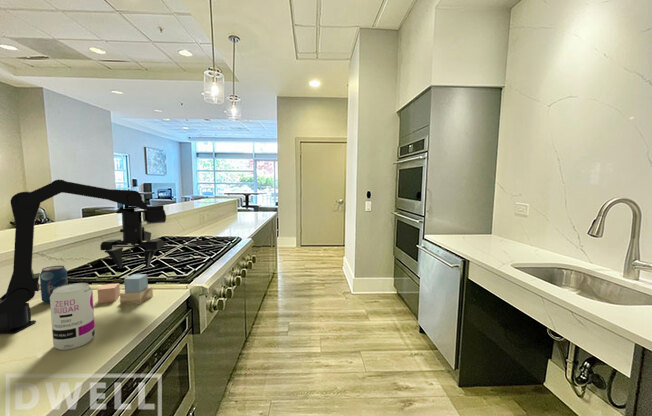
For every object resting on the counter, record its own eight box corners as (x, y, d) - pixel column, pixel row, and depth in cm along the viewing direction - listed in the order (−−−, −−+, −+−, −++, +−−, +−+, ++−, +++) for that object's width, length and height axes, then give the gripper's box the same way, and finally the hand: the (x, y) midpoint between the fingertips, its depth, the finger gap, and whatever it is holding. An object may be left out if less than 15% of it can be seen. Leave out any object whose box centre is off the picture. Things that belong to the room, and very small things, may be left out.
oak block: (140, 304, 98) (139, 293, 97) (120, 304, 98) (120, 293, 97) (152, 296, 105) (152, 286, 104) (134, 296, 105) (134, 286, 104)
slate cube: (139, 292, 98) (138, 278, 98) (124, 292, 98) (124, 278, 98) (147, 287, 103) (147, 274, 103) (133, 287, 103) (133, 274, 103)
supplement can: (91, 330, 80) (88, 280, 78) (98, 341, 74) (95, 287, 73) (51, 343, 73) (47, 288, 72) (56, 355, 68) (52, 296, 67)
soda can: (51, 305, 96) (49, 271, 95) (36, 303, 97) (33, 269, 96) (73, 297, 103) (71, 265, 102) (59, 295, 104) (56, 264, 103)
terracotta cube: (115, 301, 100) (114, 287, 99) (98, 303, 98) (97, 289, 98) (120, 296, 104) (119, 283, 104) (103, 297, 103) (103, 284, 102)
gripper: (170, 222, 108) (171, 261, 109) (119, 222, 106) (121, 262, 107) (155, 226, 97) (157, 270, 98) (98, 226, 95) (100, 271, 96)
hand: (134, 267), depth 100 cm, fingers open, 9 cm apart
